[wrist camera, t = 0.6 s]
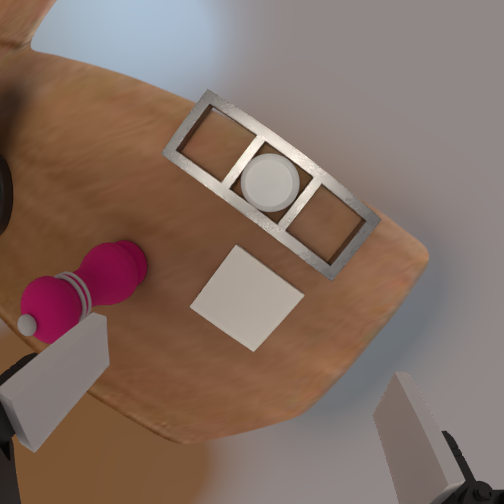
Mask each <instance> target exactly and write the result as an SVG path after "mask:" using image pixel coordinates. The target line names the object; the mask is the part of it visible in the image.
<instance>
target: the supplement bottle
mask: <svg viewBox="0 0 504 504" xmlns="http://www.w3.org/2000/svg"><path fill="white" fill-rule="evenodd" d="M299 186H300V180H299V175H298V172H297V170H296V168H295V166H294V165H293V164H292V163H291V162H290V161H289V160H288V159H286V158H285V157H283V156H281V155H278V154H271V153H268V154H262V155H259V156H257V157H255V158H253V159H252V160H251V161H250V162H249V163H248V164H247V165H246V166H245V168H244V170H243V172H242V176H241V189H242V193H243V195H244V197H245V199H246V200H247V201H248V202H249V203H250V204H251V205H252V206H253V207H255V208H256V209H258V210H261V211H265V212H276V211H280V210H282V209H284V208H286V207H287V206H289V205H290V204H291V203H292V202H293V201H294V199H295V198H296V196H297V194H298V191H299Z"/></svg>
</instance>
